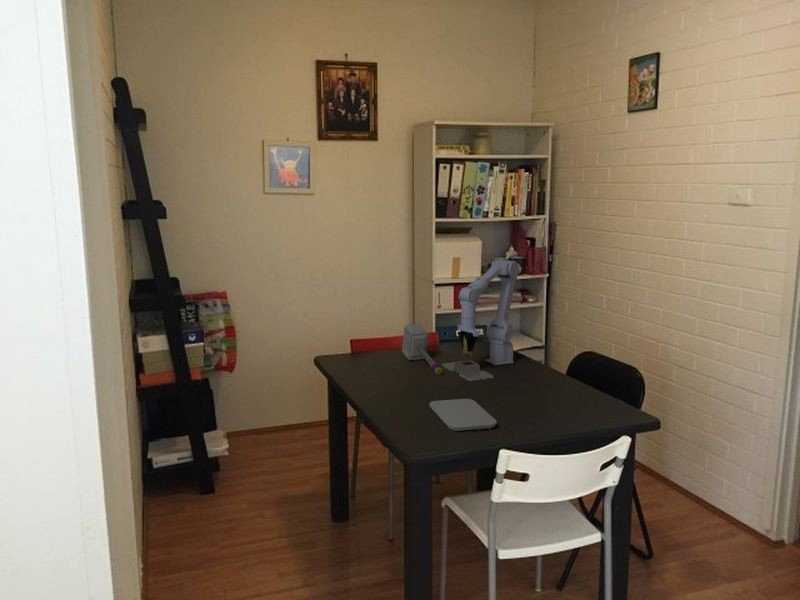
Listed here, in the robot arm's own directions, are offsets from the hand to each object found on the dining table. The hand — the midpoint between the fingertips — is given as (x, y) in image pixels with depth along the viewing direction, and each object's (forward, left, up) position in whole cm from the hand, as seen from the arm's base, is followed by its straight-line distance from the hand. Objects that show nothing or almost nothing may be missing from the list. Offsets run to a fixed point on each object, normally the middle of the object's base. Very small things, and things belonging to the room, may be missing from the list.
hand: (467, 350), depth 278 cm
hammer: (+12, -15, -9) cm, 22 cm away
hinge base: (0, 0, -9) cm, 9 cm away
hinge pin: (0, 0, -2) cm, 2 cm away
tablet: (+27, +47, -10) cm, 55 cm away
